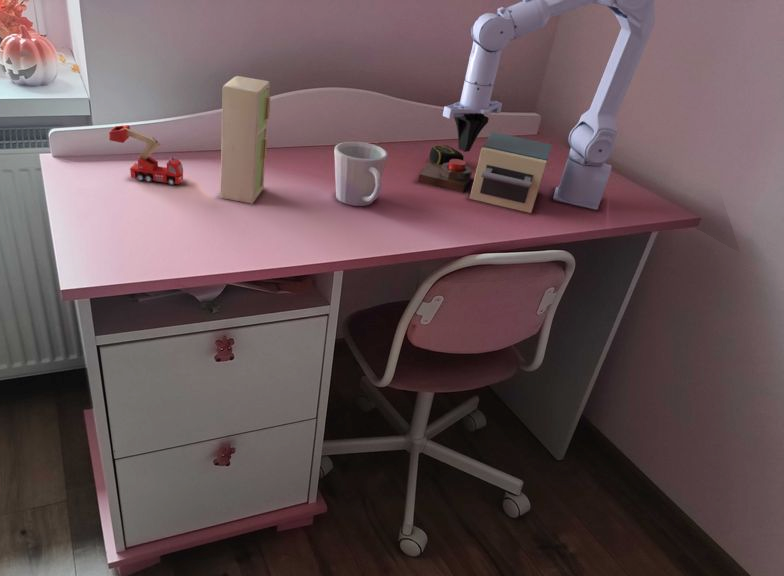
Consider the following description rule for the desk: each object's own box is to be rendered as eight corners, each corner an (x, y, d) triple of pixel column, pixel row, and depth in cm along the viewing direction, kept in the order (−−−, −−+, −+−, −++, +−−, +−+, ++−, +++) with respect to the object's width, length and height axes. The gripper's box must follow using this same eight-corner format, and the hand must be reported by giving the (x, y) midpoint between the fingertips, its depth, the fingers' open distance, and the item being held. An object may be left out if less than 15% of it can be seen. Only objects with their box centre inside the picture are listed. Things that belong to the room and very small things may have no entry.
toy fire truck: (180, 186, 131) (179, 138, 126) (112, 177, 132) (108, 128, 126) (185, 180, 134) (184, 132, 129) (118, 171, 134) (114, 123, 129)
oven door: (529, 219, 135) (544, 168, 129) (466, 204, 138) (478, 153, 132) (531, 210, 139) (547, 160, 133) (470, 196, 142) (482, 146, 136)
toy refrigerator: (256, 205, 128) (262, 91, 116) (219, 198, 129) (221, 85, 117) (267, 190, 134) (273, 81, 122) (232, 183, 135) (235, 75, 123)
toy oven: (531, 210, 140) (547, 159, 133) (470, 196, 143) (483, 145, 136) (537, 193, 148) (552, 144, 142) (479, 180, 151) (491, 131, 145)
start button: (465, 168, 147) (467, 161, 146) (462, 174, 145) (464, 166, 144) (449, 165, 148) (451, 157, 147) (446, 170, 145) (448, 162, 144)
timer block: (471, 180, 151) (474, 164, 149) (463, 193, 144) (467, 177, 142) (427, 170, 153) (430, 155, 151) (417, 182, 146) (420, 167, 144)
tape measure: (462, 168, 156) (466, 153, 154) (439, 171, 153) (442, 155, 151) (445, 158, 161) (448, 143, 159) (422, 160, 158) (425, 145, 156)
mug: (367, 187, 141) (374, 140, 135) (398, 217, 130) (407, 167, 124) (321, 189, 137) (326, 141, 132) (349, 221, 126) (356, 170, 121)
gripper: (467, 89, 125) (451, 160, 133) (519, 85, 132) (501, 152, 140) (441, 79, 130) (428, 148, 137) (493, 76, 137) (478, 141, 145)
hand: (463, 150), depth 139 cm, fingers closed
